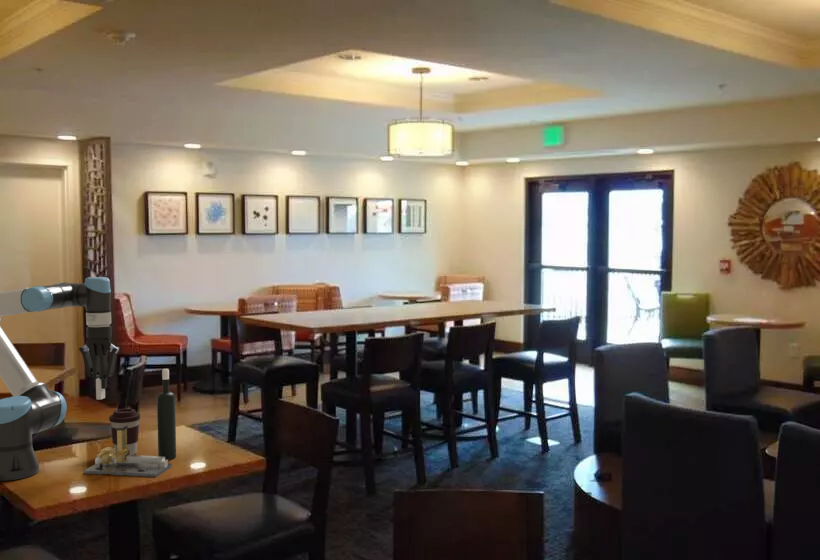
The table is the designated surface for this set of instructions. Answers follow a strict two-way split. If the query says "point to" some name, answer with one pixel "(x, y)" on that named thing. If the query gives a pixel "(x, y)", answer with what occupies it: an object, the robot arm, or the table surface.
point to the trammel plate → (128, 464)
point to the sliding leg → (121, 445)
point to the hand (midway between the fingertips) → (100, 398)
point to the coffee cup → (131, 420)
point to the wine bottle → (166, 420)
